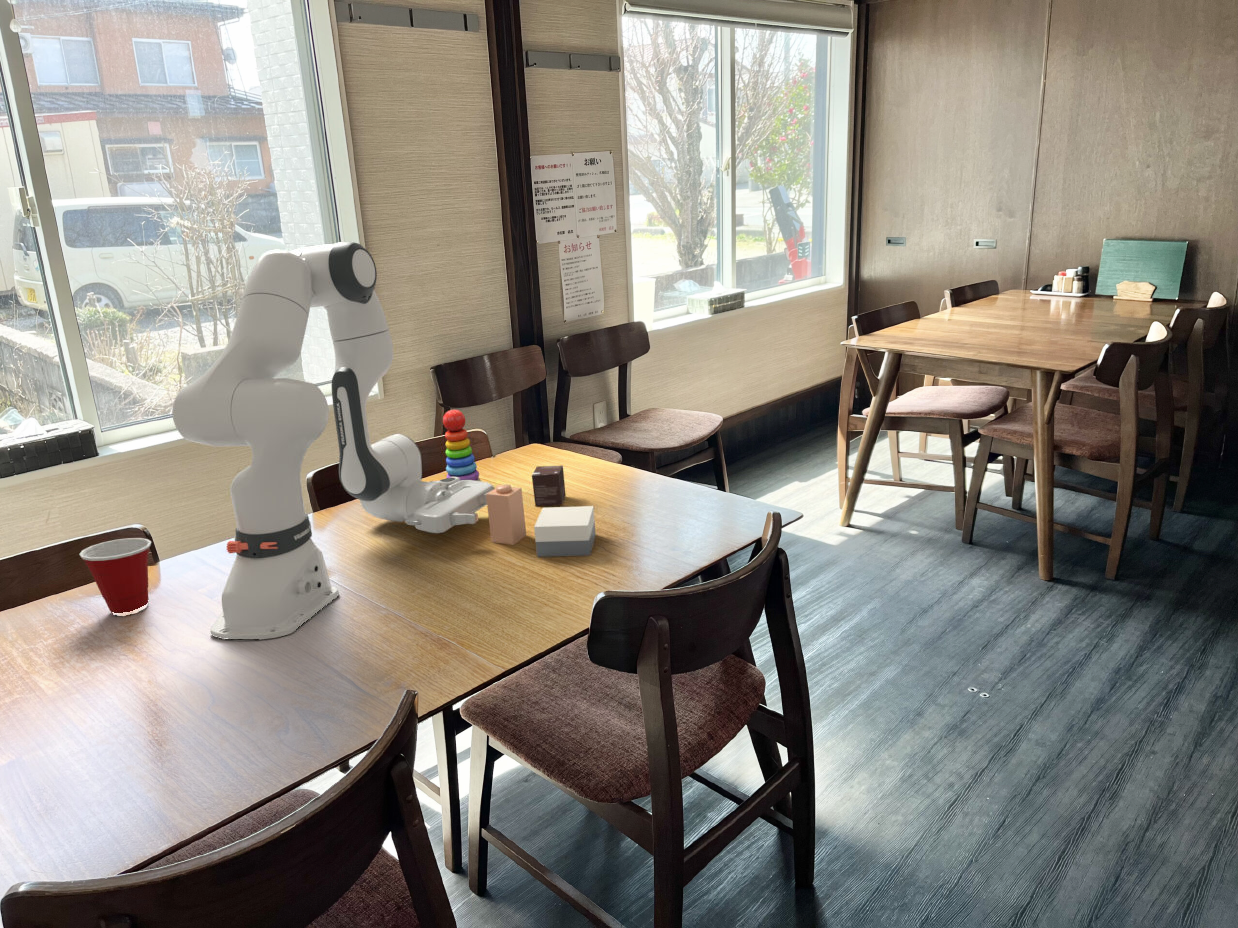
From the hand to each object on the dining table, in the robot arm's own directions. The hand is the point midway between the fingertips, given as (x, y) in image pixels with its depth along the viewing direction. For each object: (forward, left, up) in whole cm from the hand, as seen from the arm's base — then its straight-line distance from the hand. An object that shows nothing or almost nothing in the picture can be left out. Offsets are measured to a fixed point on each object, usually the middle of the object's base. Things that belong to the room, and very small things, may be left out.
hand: (489, 510), depth 177 cm
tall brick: (-1, -4, -6) cm, 7 cm away
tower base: (-6, -16, -6) cm, 18 cm away
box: (+19, -9, -6) cm, 22 cm away
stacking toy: (+30, +13, -6) cm, 33 cm away
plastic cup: (-29, +58, -6) cm, 65 cm away
